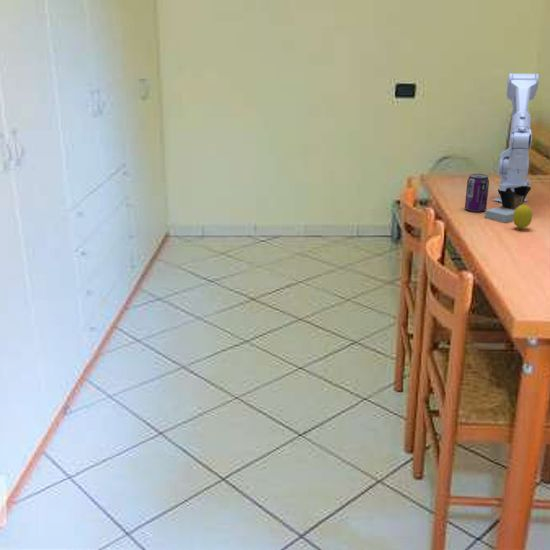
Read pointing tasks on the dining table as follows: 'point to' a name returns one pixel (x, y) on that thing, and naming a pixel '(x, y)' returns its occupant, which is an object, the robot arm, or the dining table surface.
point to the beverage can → (477, 192)
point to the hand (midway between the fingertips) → (512, 208)
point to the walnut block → (516, 201)
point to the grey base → (500, 214)
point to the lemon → (522, 216)
